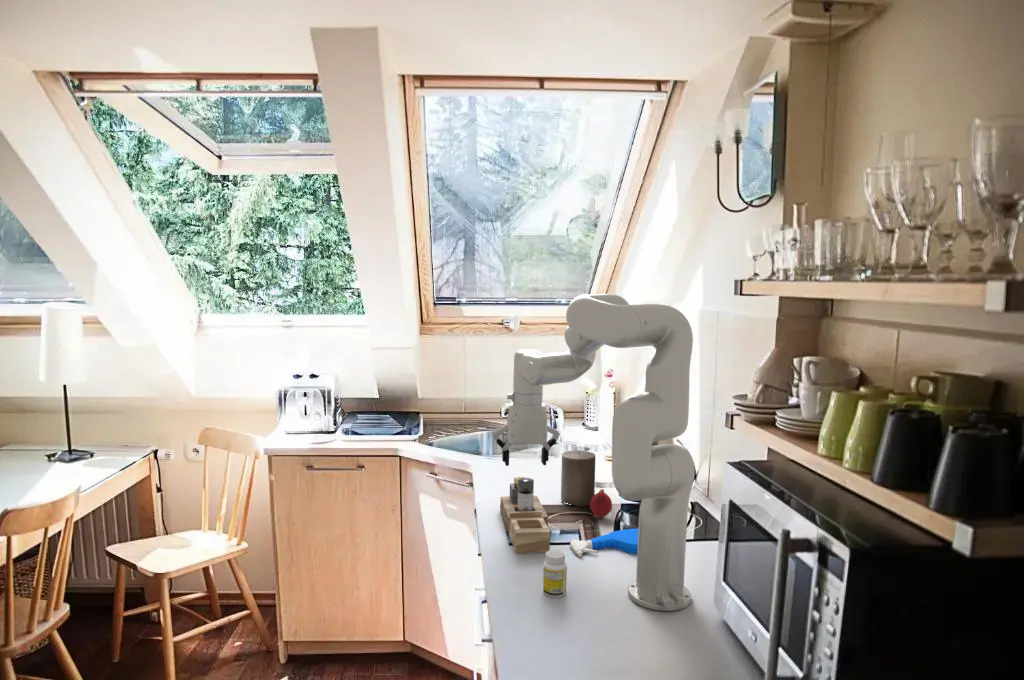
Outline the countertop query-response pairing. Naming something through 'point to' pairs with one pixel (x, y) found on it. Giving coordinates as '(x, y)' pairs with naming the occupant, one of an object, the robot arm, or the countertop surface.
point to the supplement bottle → (554, 574)
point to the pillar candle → (578, 477)
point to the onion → (601, 504)
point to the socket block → (511, 505)
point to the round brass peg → (517, 480)
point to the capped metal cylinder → (525, 494)
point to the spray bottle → (609, 542)
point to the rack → (529, 532)
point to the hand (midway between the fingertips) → (525, 464)
